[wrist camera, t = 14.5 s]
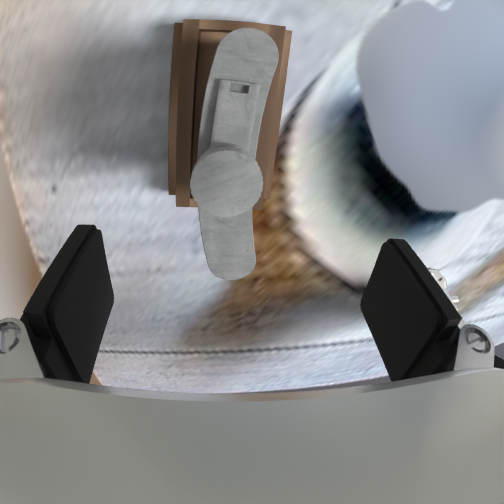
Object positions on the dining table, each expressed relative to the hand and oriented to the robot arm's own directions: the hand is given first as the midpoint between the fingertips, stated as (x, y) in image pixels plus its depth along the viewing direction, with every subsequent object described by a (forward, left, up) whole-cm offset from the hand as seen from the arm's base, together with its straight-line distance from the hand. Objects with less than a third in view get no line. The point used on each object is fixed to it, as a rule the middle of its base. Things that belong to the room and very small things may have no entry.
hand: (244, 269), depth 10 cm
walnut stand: (0, 0, -27) cm, 27 cm away
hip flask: (0, 0, -27) cm, 27 cm away
